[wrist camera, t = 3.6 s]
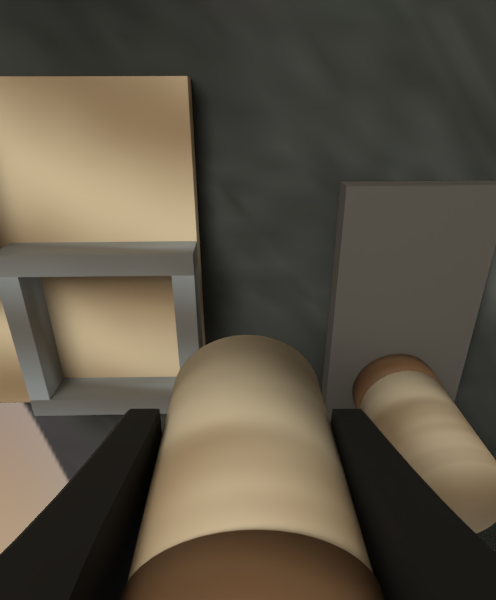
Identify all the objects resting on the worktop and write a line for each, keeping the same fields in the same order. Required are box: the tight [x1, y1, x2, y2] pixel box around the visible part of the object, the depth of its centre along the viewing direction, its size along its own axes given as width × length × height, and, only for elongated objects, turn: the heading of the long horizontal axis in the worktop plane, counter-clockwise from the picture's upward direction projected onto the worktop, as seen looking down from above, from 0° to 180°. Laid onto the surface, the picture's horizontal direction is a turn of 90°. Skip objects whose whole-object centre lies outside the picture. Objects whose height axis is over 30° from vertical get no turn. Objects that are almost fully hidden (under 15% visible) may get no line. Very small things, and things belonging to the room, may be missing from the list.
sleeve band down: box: [352, 354, 496, 533], centre depth 16 cm, size 4×4×6 cm
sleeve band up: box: [119, 335, 385, 600], centre depth 7 cm, size 4×4×6 cm
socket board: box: [0, 76, 205, 416], centre depth 16 cm, size 13×15×2 cm
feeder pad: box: [321, 181, 496, 423], centre depth 18 cm, size 11×6×1 cm, turn 0°
